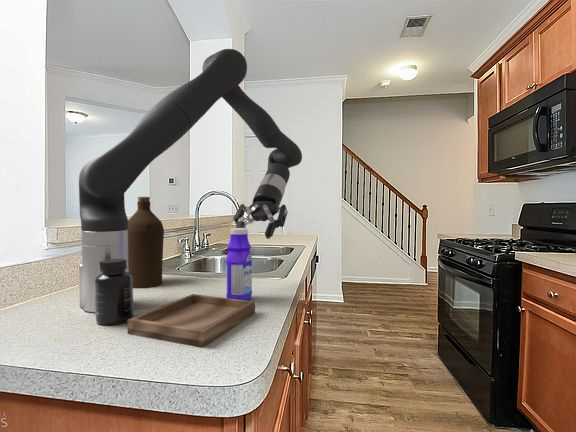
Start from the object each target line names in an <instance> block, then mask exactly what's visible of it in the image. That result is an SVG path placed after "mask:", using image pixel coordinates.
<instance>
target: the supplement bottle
mask: <svg viewBox="0 0 576 432" xmlns="http://www.w3.org/2000/svg"><path fill="white" fill-rule="evenodd" d="M126 269H127V262H126V259H109V260H103V261H100V269H99V270H100V271H101V274H100V275H98V276H97V277H96V279H95V281H94V286H95V312H94V313H95V322H96V323H97V324H98V325H100V326H115V325H120V324H124V323H128V319H131V318H133V317H134V315H135V314H134V288H133V279H132V275H131V274H130V273H128V272H126Z"/></svg>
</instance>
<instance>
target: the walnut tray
mask: <svg viewBox="0 0 576 432" xmlns="http://www.w3.org/2000/svg"><path fill="white" fill-rule="evenodd" d="M254 314H256V301H253V300H248V301H246V300H238V299H230V298H227V297H221V296H213V295H204V294H196V293H192V294H190V295H187V296H184V297H181V298H179V299H177V300H174V301H171V302H169V303H166V304H163V305H162V306H159V307H157V308H154V309H151V310H149V311H146V312H143V313H140V314H139V315H137V316H133V317H132V318H131V319H128V321H127V334H128V335H132V336H133V335H134V336H139V337H144V338H149V339H156V340H160V341H167V342H172V343H177V344H183V345H188V346H192V347H199V348H205V347H206V346H208V345H209V344H211V343H213V342H214V341H215V340H216V339H218V338H220V337H221V336H222V335H223V336H224V334H225V333H227V332H229V331H231V330H233V328H235V327H236V326H238V325H240V324H241V323H242V322H244V321H246V320H247V319H248V318H250V317H252V316H254Z"/></svg>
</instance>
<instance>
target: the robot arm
mask: <svg viewBox="0 0 576 432" xmlns="http://www.w3.org/2000/svg"><path fill="white" fill-rule="evenodd" d="M247 72H248V63H247V60H246V57H245V56H244V55H243V54H242V53H241V52H240V51H238V50H237V49H234V48H224V49H222V50H219V51H217V52H214V53H212V54H211V55H209V56H208V57H206V58H205V60H204V62H203V63H202V72H201V73H200V74H199V75H197V76H196V77H194V78H193V79H191V80H190V81H188V82H186V83H184V84H183V85H181V86H179V87H177V88H175V89H174V90H173V91H171V92H170V93H168V94H167V95H166V96H164V97H163V98H162V99H161V100H159V101H158V102H157V103H156V104H154V105H153V106H152V107H151V108H150V109H149V110H148V111H147V112H146V113H145V114H144V115H143V116H142V118H140V120H139V121H138V122H137V124H136V125H135V126H134V127H133V129H132V130H131V132H129V133H128V134H127V136H125V137H124V138H123V139H122V140H121V141H120V142H118V143H116V144H115V145H114V146H112V147H111V148H110V149H108V150H107V151H105V152H104V153H102V154H101V155H99V156H97V157H96V158H94V159H91V160H90V161H88V162H87V163H85V165H83V166H82V168H81V169H80V171H79V177H78V197H79V199H78V201H79V202H78V203H79V218H80V225H81V228H80V229H81V264H80V265H79V267H78V271H79V272H78V273H79V275H78V279H79V283H78V285H79V286H78V287H79V308H82V310H83V311H84V312H89V313H95V286H94V281H95V279H96V277H97V276H98V275H100V274H101V271H100V270H99V269H100V261H103V260H109V259H126V262H127V269H126V272H128V273H129V261H128V220H129V219H128V216H127V213H126V207H125V206H126V205H125V204H126V203H125V193H126V192H127V190H129V188H130V187H131V186H132V185H133V184H134V182H135V181H136V180H137V178H139V176H140V175H141V174H142V173H143V172H144V170H145V169H146V168H147V167H148V166H149V165H150V164H151V163H152V162H153V161H154V160H155V159H157V158H158V157H159V156H161V155H162V154H163V153H164V152H166V151H167V150H168V149H170V147H173V145H174V144H175V143H177V141H179V140H180V139H181V138H182V137H184V135H186V134H187V133H188V132H189V131H190V130H191V129H192V128H193V127H194V126H195V124H197V123H198V122H199V120H200V119H202V118H203V116H204V115H206V114H207V112H208V111H210V109H211V108H212V107H213V106H214V105H215V104H216V103H217V101H219V100H220V99H221V98H222V100H224V101H225V103H226V104H228V105H229V106H230V107H231V109H233V111H234V112H236V113H237V115H238V116H239V117H240V118H241V119H242V120H243V121H244V122H245V124H246V125H247V126H248V128H249V129H250V130H251V131H252V133H253V134H254V136H255V137H256V138H257V140H258V141H259V142H260V144H261V145H262V146H263V147H264V148H266V149H274V150H272V151H270V153H269V155H268V158H267V171H266V172H265V174H264V177H263V179H261V181H260V183H259V185H258V188H257V190H256V192H255V194H254V196H253V199H252V203H251V204H250V205H249V206H246V205H245V204H244V203H242V204H240V205H239V207H238V209H237V210H236V212H235V214H234V216H233V222H234V224H235V225H236V226H235V228H246V226H247V225H249V224H250V225H252V224H253V223H255V222H260V221H261V222H267V221H269V223H268V224H267V226H266V229H265V232H264V235H265V238H266V239H267V240H268V239H269V240H270V239H271V237H273V235H274V233H275V231H276V229H277V228H278V227H280V228H283V227H284V226H285V223H286V220H287V216H288V213H289V212H288V208H287V206H286V204H282V205H281V203H282V199H283V197H284V195H285V193H286V186H287V184H288V182H289V179H290V176H291V173H290V168H294V167H296V166H298V165H299V164H301V163H302V161H303V154H302V150H301V149H300V147H299V146H298V144H296V142H294V141H293V140H292V139H291V138H289V137H288V136H287V135H286V134H285V133H284V132H282V131H281V130H280V127H279V126H278V125H277V123H276V122H275V121H274V119H273V117H272V116H271V115H270V114H269V113H268V112H267V111H266V109H264V108H263V107H262V106H260V105H259V104H258V103H257V102H255V101H254V100H253V99H251V98H250V97H249V96H248V94H246V92H244V91H243V89H242V87H240V84H241V83H242V82H243V81H244V80H245V78H246V75H247ZM280 205H281V206H280ZM277 214H278V215H277ZM275 215H277V219H275V218H274V216H275ZM250 216H251V217H250Z"/></svg>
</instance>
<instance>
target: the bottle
mask: <svg viewBox="0 0 576 432" xmlns="http://www.w3.org/2000/svg"><path fill="white" fill-rule="evenodd" d="M248 231H249V229H248V228H246V227H245V228H236V227H233V228H230V240H229V243H228V244H227V250H228V252H227V255H226V261H225V266H226V273H225V274H226V276H225V277H226V279H225V281H226V287H225V289H226V292H225V293H226V294H225V295H226V296H225V297H226V298H230V299H238V300H246V301H250V300H251V298H252V295H253V284H252V283H253V282H252V281H253V280H252V279H253V273H252V271H253V269H252V265H253V264H252V263H253V262H252V261H253V258H252V256H253V255H252V253H251V251H250V250H251V248H252V245H251V244H250V241H249V238H248V236H249V235H248V233H249V232H248Z"/></svg>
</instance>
